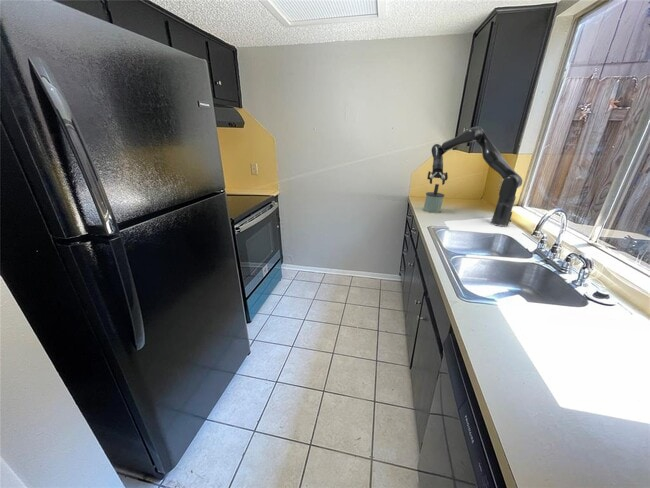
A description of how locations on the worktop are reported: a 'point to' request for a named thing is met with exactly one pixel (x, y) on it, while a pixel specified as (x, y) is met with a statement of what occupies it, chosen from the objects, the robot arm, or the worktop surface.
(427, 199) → the teal cylindrical pot
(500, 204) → the robot arm
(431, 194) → the lid
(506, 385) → the worktop surface
